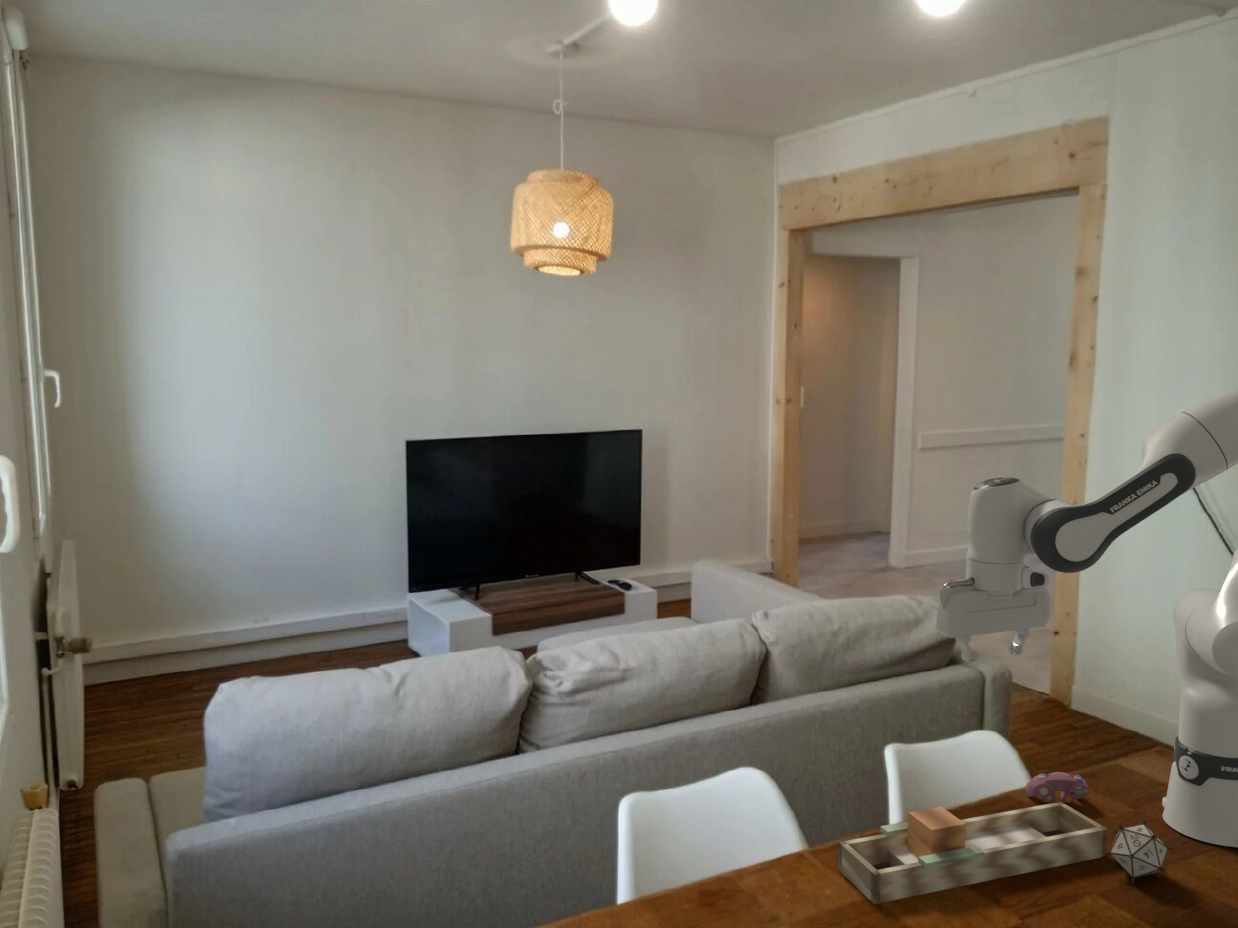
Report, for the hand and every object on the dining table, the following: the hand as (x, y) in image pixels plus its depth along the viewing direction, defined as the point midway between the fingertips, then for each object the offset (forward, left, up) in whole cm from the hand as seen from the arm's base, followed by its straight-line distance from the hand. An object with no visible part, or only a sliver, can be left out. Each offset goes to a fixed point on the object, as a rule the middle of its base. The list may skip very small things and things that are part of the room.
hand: (992, 657), depth 161 cm
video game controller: (-17, -3, -29) cm, 34 cm away
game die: (-10, +21, -29) cm, 38 cm away
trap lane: (+11, +10, -29) cm, 32 cm away
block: (+18, +10, -26) cm, 33 cm away
